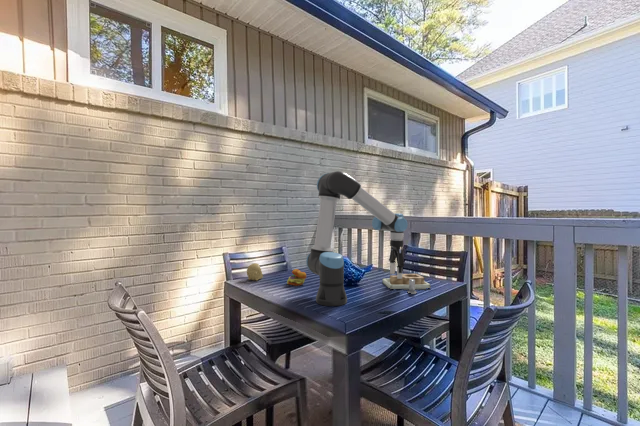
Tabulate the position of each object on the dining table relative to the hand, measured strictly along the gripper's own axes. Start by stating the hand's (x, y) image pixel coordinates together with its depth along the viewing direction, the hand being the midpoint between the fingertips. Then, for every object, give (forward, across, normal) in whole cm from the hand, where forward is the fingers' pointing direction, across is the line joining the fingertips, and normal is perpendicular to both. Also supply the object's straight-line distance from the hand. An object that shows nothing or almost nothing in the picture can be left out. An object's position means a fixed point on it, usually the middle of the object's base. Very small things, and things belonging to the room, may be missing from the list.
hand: (395, 276), depth 190 cm
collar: (+5, 0, -6) cm, 8 cm away
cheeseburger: (+7, +8, +58) cm, 59 cm away
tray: (+6, 0, -6) cm, 8 cm away
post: (+6, -16, -4) cm, 17 cm away
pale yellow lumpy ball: (+7, +21, +84) cm, 87 cm away
